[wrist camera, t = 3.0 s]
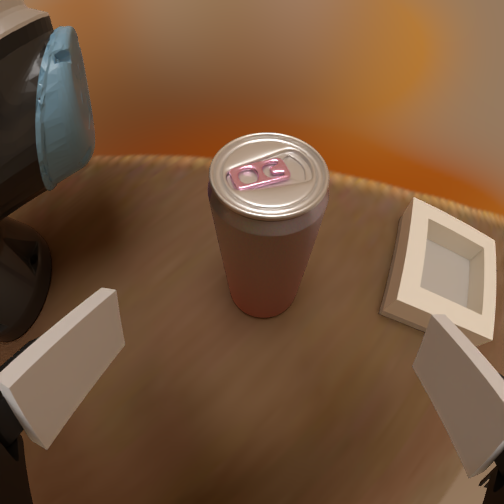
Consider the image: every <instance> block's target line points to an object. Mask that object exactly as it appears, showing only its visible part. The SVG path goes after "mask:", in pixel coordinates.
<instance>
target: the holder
mask: <svg viewBox="0 0 504 504" xmlns="http://www.w3.org/2000/svg"><path fill="white" fill-rule="evenodd" d="M495 304H496V252H495V241H494V240H493V239H491V238H490V237H488V236H486V235H485V234H483V233H481V232H479V231H478V230H476V229H474V228H473V227H471V226H469V225H467V224H465V223H464V222H462V221H460V220H458V219H456V218H454V217H453V216H451V215H449V214H447V213H445V212H443V211H441V210H439V209H437V208H435V207H433V206H431V205H429V204H427V203H425V202H423V201H421V200H419V199H417V198H415V197H413V199H412V201H411V202H410V204H409V205H408V207H407V208H406V210H405V211H404V213H403V215H402V216H401V218H400V221H399V227H398V232H397V238H396V243H395V248H394V253H393V258H392V263H391V267H390V272H389V276H388V280H387V284H386V288H385V292H384V296H383V300H382V304H381V307H380V311H379V314H381V315H383V316H386V317H388V318H391V319H393V320H396V321H398V322H401V323H403V324H406V325H408V326H411V327H413V328H416V329H418V330H421V331H423V332H426V329H427V326H428V323H429V320H430V317H431V314H445V315H446V316H447V317H448V318H449V319H450V320H451V321H452V322H453V323H454V324H455V325H456V326H457V328H458V329H459V330H460V331H461V332H462V333H463V334H464V335H465V336H466V337H467V338H468V339H469V340H470V341H471V343H472V344H473V345H474V346H475V347H477V346H479V345H482V344H484V343H487V342H489V341H492V339H493V330H494V320H495Z"/></svg>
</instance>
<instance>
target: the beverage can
mask: <svg viewBox="0 0 504 504" xmlns="http://www.w3.org/2000/svg"><path fill="white" fill-rule="evenodd" d="M328 186H329V171H328V168H327V165H326V163H325V161H324V159H323V158H322V156H321V155H320V154H319V153H318V152H317V151H316V150H315V149H314V148H313V147H312V146H310V145H309V144H307V143H306V142H304V141H302V140H300V139H298V138H295V137H292V136H289V135H285V134H280V133H270V132H264V133H254V134H249V135H245V136H242V137H239V138H237V139H235V140H233V141H231V142H229V143H228V144H226V145H225V146H224V147H222V148H221V149H220V150H219V151H218V153H217V154H216V155H215V157H214V158H213V160H212V162H211V165H210V169H209V183H208V197H209V201H210V206H211V211H212V215H213V220H214V224H215V229H216V233H217V238H218V242H219V247H220V251H221V255H222V260H223V264H224V268H225V273H226V277H227V281H228V285H229V289H230V294H231V297H232V299H233V301H234V303H235V304H236V305H237V307H238V308H239V309H241V310H242V311H243V312H245V313H246V314H248V315H251V316H254V317H259V318H268V317H273V316H276V315H278V314H280V313H282V312H284V311H285V310H286V309H287V308H288V307H289V306H290V305H291V304H292V302H293V300H294V298H295V296H296V293H297V290H298V288H299V285H300V282H301V279H302V277H303V274H304V271H305V268H306V266H307V263H308V260H309V257H310V254H311V251H312V248H313V246H314V243H315V240H316V237H317V234H318V231H319V228H320V225H321V222H322V219H323V216H324V213H325V209H326V206H327V203H328V199H329V187H328Z"/></svg>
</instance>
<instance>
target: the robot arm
mask: <svg viewBox="0 0 504 504" xmlns="http://www.w3.org/2000/svg"><path fill="white" fill-rule="evenodd" d="M94 147H95V131H94V123H93V115H92V109H91V102H90V97H89V91H88V85H87V79H86V74H85V68H84V63H83V58H82V53H81V49H80V47H79V43H78V37H77V34H76V31H75V29H74V28H73V27H71V26H66V27H62V26H60V27H58V28H56V29H55V30H53V28H52V24H51V20H50V17H49V14H48V12H44V11H40V10H36V9H31V8H28V7H27V6H26V5H25V4H24V0H0V341H2V342H8V341H12V340H15V339H17V338H18V337H20V336H21V335H22V334H24V333H25V332H26V331H27V330H28V329H29V327H30V326H31V325H32V324H33V322H34V321H35V319H36V318H37V316H38V314H39V312H40V310H41V308H42V306H43V303H44V301H45V298H46V295H47V292H48V288H49V284H50V278H51V255H50V250H49V247H48V245H47V243H46V241H45V240H44V239H43V238H42V237H41V236H40V235H39V234H38V233H37V232H36V231H35V230H34V229H33V228H31V227H30V226H28V225H26V224H23V223H21V222H19V221H16V220H14V219H11V218H9V217H7V216H8V215H9V214H11V213H12V212H14V211H15V210H17V209H18V208H20V207H21V206H23V205H24V204H26V203H27V202H29V201H30V200H32V199H34V198H35V197H37V196H38V195H40V194H42V193H43V192H45V191H47V190H49V191H51V190H53V189H54V188H55V187H56V184H57V183H59V182H60V181H62V180H64V179H65V178H67V177H68V176H70V175H72V174H73V173H75V172H77V171H78V170H80V169H82V168H83V167H84V166H85V165H86V164H87V163H88V162H89V160H90V159H91V157H92V155H93V151H94ZM124 346H125V341H124V336H123V330H122V325H121V319H120V312H119V306H118V299H117V291H116V290H114V289H108V288H100V289H99V290H98V291H96V292H95V293H94V294H93V295H91V296H90V297H89V298H87V299H86V300H85V301H84V302H82V303H81V304H80V305H79V306H77V307H76V308H75V309H74V310H72V311H71V312H70V313H69V314H67V315H66V316H65V317H64V318H62V319H61V320H60V321H59V322H57V323H56V324H55V325H54V326H53V327H51V328H50V329H49V330H48V331H47V332H45V333H44V334H43V335H42V336H41V337H38V338H36V339H34V340H32V341H30V342H28V343H27V344H26V345H24V346H23V347H22V348H21V349H20V351H17V352H16V353H15V354H14V355H13V357H11V358H10V359H8V360H7V361H6V362H5V363H4V364H3V365H2V366H1V367H0V504H33V502H32V497H31V493H30V488H29V482H28V476H27V470H26V463H25V455H24V445H23V439H22V436H21V435H20V433H21V432H22V431H23V429H24V431H25V432H26V434H27V435H28V437H29V438H30V439H31V441H33V442H34V443H36V444H38V445H39V446H41V447H43V448H44V449H46V450H48V448H49V447H50V445H51V444H52V442H53V441H54V440H55V438H56V437H57V435H58V434H59V432H60V431H61V430H62V428H63V427H64V425H65V424H66V423H67V421H68V420H69V418H70V417H71V416H72V414H73V413H74V411H75V410H76V409H77V407H78V406H79V405H80V403H81V402H82V401H83V399H84V398H85V397H86V395H87V394H88V392H89V391H90V390H91V388H92V387H93V386H94V384H95V383H96V382H97V381H98V379H99V378H100V377H101V375H102V374H103V373H104V371H105V370H106V369H107V367H108V366H109V365H110V364H111V362H112V361H113V360H114V358H115V357H116V356H117V355H118V353H119V352H120V351H121V349H122V348H123V347H124ZM412 367H413V369H414V371H415V373H416V374H417V376H418V378H419V380H420V381H421V383H422V385H423V387H424V389H425V390H426V392H427V394H428V396H429V398H430V399H431V401H432V403H433V405H434V407H435V409H436V411H437V413H438V415H439V417H440V418H441V420H442V422H443V424H444V426H445V428H446V430H447V432H448V434H449V436H450V438H451V441H452V443H453V445H454V447H455V449H456V451H457V453H458V455H459V458H460V460H461V462H462V464H463V467H464V469H465V471H466V473H467V476H468V478H470V477H473V476H475V475H478V474H480V473H482V472H484V471H485V470H486V469H487V468H488V467H489V466H490V465H491V464H492V463H493V461H495V463H496V465H497V466H496V467H495V468H494V469H493V470H492V471H491V472H490V473H489V474H488V475H487V476H486V477H485V478H484V479H483V480H482V481H481V482H480V484H479V486H481V485H483V484H484V483H485V482H486V481H487V480H488V479H489V482H488V483H487V484H486V485H485V486H484V487H486V488H487V491H486V494H485V498H484V501H483V504H504V376H502V375H501V374H500V373H498V372H497V371H496V370H495V369H494V368H493V366H492V365H491V364H490V363H489V362H488V361H487V359H486V358H485V357H484V356H483V355H482V354H481V353H480V351H479V350H478V349H477V348H476V347H475V346H474V345H473V344H472V343H471V341H470V340H469V339H468V338H467V337H466V336H465V335H464V334H463V333H462V332H461V331H460V330H459V329H458V328H457V326H456V325H455V324H454V323H453V322H452V321H451V320H450V319H449V318H448V317H447V316H446V315H445V314H431V317H430V320H429V323H428V326H427V329H426V332H425V335H424V338H423V340H422V343H421V346H420V348H419V351H418V353H417V356H416V358H415V361H414V363H413V366H412Z"/></svg>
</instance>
